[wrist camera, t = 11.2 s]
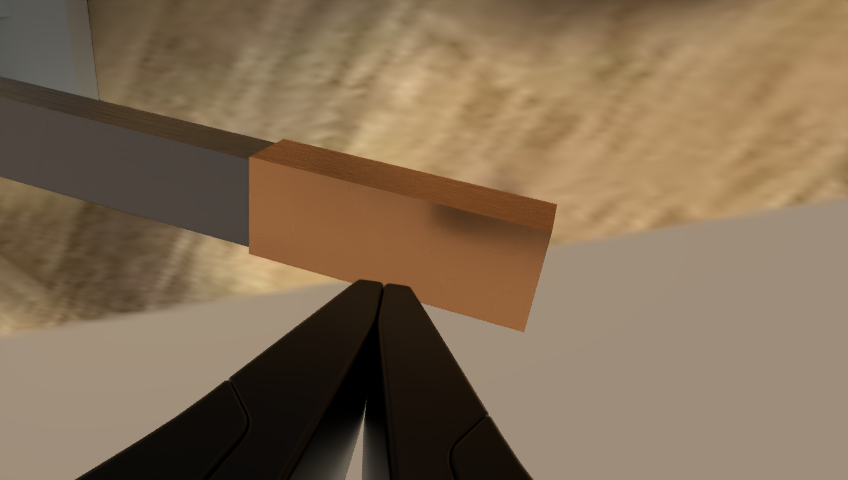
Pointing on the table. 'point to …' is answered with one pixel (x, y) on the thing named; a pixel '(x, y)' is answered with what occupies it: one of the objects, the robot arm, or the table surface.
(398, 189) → the lever
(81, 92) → the lever stand
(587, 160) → the table surface
